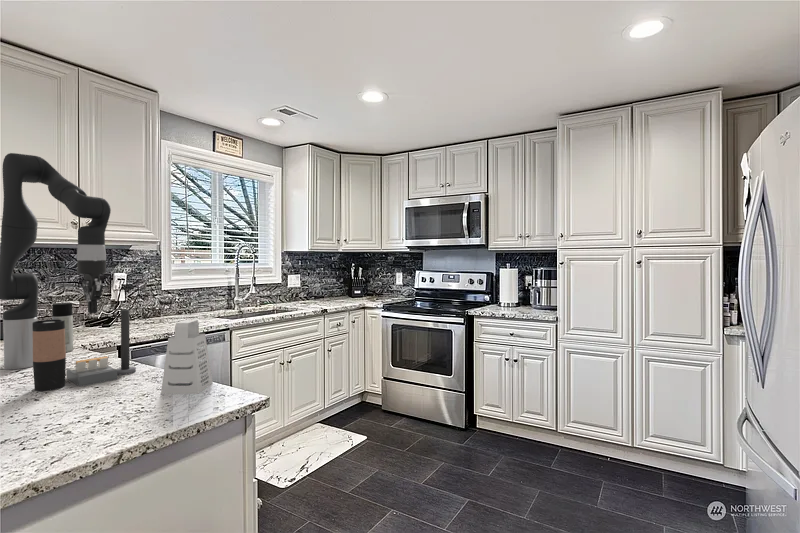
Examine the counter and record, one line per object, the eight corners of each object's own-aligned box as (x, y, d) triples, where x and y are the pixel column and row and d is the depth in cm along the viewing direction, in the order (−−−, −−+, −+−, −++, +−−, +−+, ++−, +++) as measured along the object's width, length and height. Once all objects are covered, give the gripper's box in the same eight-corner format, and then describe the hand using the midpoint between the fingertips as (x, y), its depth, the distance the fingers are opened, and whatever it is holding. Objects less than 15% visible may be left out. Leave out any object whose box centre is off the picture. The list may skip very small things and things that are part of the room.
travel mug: (27, 392, 124) (26, 323, 123) (41, 385, 131) (40, 319, 131) (58, 390, 126) (57, 322, 125) (71, 383, 133) (69, 318, 133)
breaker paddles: (75, 370, 135) (75, 360, 134) (106, 365, 141) (106, 356, 141) (76, 372, 134) (77, 362, 133) (107, 366, 141) (108, 357, 140)
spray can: (77, 349, 180) (76, 302, 180) (63, 353, 174) (62, 304, 173) (63, 349, 181) (62, 302, 180) (48, 353, 174) (47, 304, 174)
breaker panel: (66, 378, 138) (66, 368, 138) (102, 371, 146) (102, 362, 146) (79, 386, 130) (79, 376, 130) (117, 379, 137) (117, 369, 137)
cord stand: (111, 372, 145) (111, 310, 144) (131, 369, 149) (131, 308, 149) (118, 375, 141) (118, 311, 141) (138, 372, 146) (138, 310, 145)
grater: (212, 382, 133) (212, 318, 133) (198, 393, 123) (197, 324, 122) (178, 383, 133) (177, 319, 133) (160, 394, 123) (159, 324, 122)
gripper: (71, 259, 139) (72, 312, 139) (84, 259, 130) (85, 316, 131) (98, 258, 144) (99, 310, 145) (112, 259, 136) (113, 313, 137)
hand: (92, 313), depth 138 cm, fingers closed
